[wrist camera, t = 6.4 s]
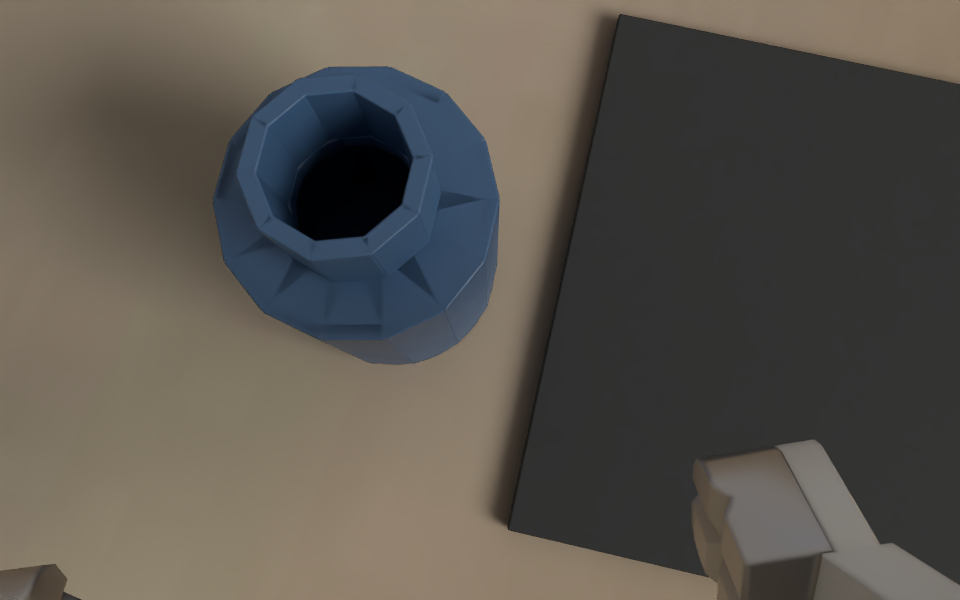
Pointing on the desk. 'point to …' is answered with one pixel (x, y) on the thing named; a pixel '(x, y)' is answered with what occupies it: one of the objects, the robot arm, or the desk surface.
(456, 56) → the desk surface
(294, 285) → the vase
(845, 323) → the desk mat
